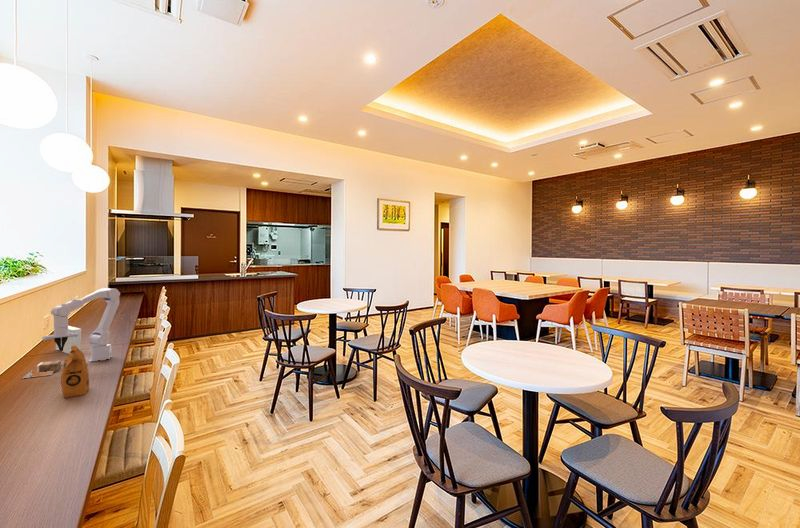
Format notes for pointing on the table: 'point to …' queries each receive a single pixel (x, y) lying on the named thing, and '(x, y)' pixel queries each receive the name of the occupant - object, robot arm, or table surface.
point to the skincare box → (71, 340)
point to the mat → (31, 375)
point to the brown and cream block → (49, 366)
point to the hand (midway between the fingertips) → (61, 350)
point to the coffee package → (74, 374)
